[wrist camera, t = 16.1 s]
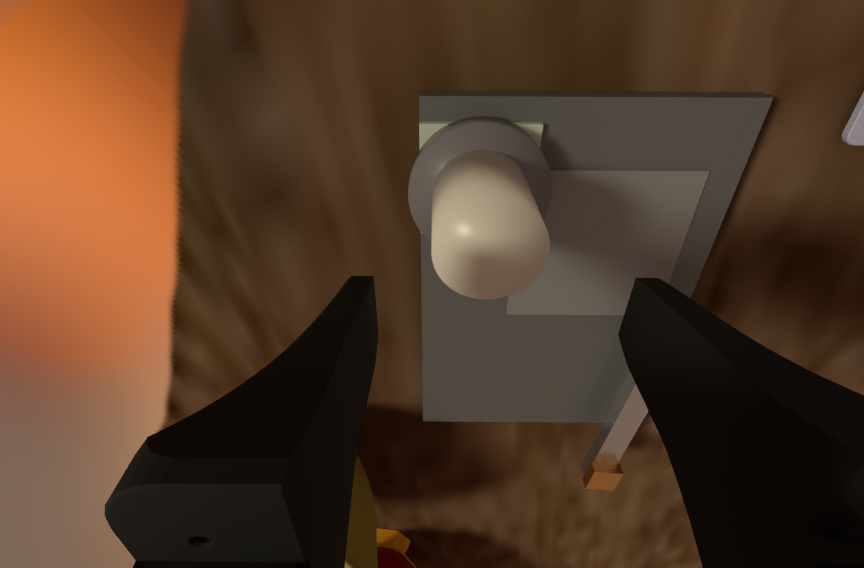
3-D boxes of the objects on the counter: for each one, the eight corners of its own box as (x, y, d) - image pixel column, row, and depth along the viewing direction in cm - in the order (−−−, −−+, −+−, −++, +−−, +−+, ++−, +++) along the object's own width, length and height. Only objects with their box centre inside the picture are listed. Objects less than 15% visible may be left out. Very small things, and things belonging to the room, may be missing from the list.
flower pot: (333, 380, 29) (299, 523, 22) (392, 457, 34) (381, 596, 26) (219, 414, 31) (151, 556, 24) (290, 482, 36) (252, 619, 28)
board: (760, 92, 19) (794, 106, 17) (634, 411, 30) (647, 440, 29) (419, 90, 19) (418, 104, 17) (423, 410, 30) (422, 438, 29)
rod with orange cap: (659, 300, 22) (673, 321, 21) (703, 305, 22) (719, 326, 21) (575, 465, 30) (582, 488, 29) (608, 467, 30) (616, 490, 29)
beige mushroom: (554, 113, 18) (594, 163, 14) (540, 244, 22) (567, 318, 17) (404, 119, 18) (394, 170, 14) (413, 248, 22) (408, 322, 17)
